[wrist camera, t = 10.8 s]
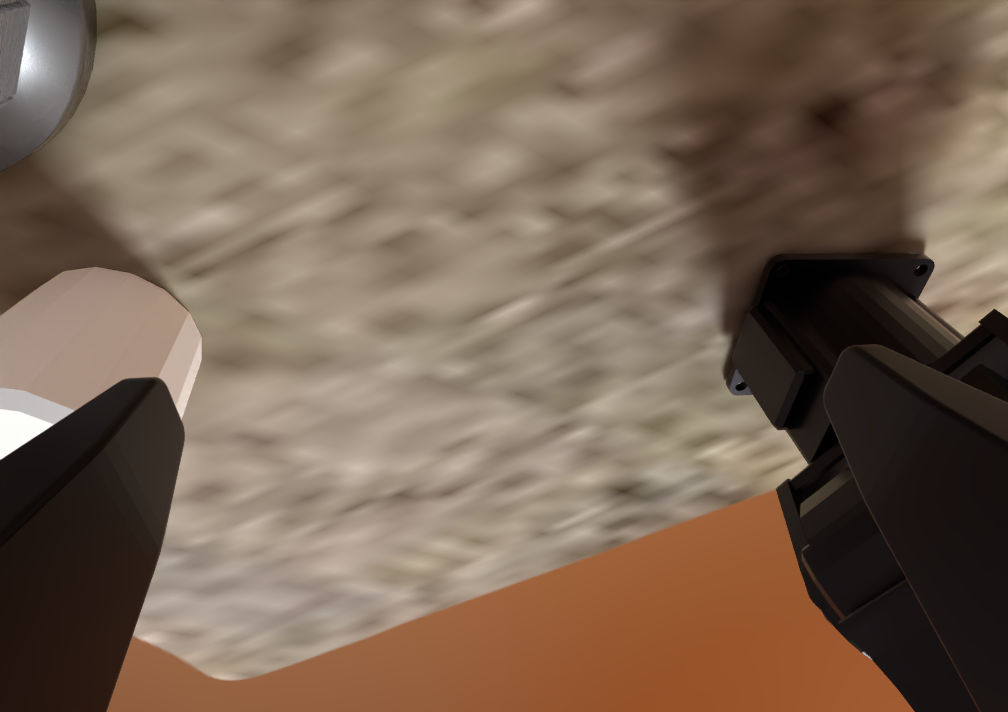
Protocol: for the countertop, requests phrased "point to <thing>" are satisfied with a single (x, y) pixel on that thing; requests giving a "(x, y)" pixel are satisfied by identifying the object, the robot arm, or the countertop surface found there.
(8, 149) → the collar
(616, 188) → the countertop surface
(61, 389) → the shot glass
